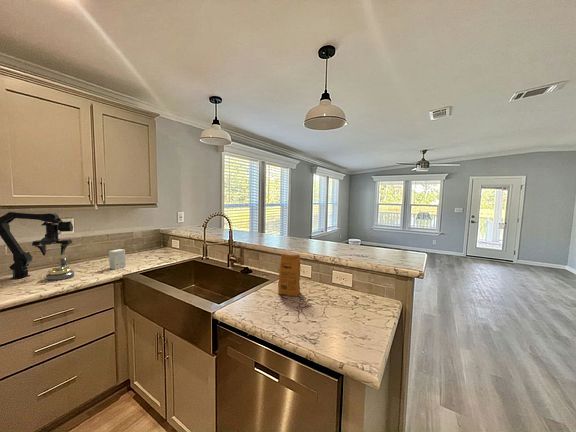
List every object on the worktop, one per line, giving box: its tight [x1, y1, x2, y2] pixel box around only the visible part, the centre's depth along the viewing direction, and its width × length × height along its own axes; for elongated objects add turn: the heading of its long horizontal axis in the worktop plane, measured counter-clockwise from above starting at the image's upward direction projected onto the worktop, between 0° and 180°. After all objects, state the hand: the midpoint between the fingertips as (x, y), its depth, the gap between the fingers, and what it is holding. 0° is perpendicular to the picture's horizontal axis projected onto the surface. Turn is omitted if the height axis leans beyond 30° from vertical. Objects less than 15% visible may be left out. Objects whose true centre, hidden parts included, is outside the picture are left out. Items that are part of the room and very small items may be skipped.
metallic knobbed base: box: [47, 257, 73, 276], centre depth 157 cm, size 18×11×7 cm, turn 34°
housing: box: [45, 270, 75, 282], centre depth 157 cm, size 15×18×3 cm
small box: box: [108, 248, 127, 270], centre depth 179 cm, size 8×6×13 cm
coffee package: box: [277, 253, 301, 297], centre depth 134 cm, size 10×12×22 cm
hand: (53, 255), depth 161 cm, fingers open, 9 cm apart
